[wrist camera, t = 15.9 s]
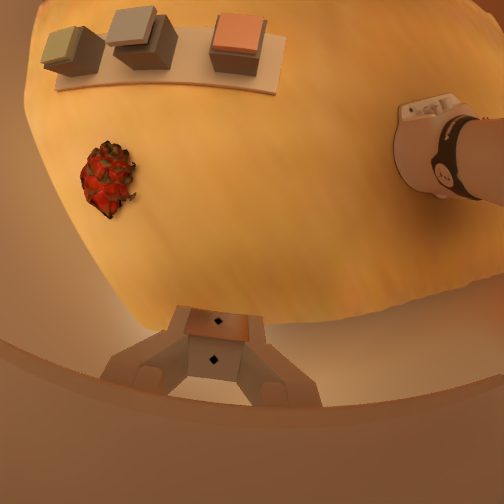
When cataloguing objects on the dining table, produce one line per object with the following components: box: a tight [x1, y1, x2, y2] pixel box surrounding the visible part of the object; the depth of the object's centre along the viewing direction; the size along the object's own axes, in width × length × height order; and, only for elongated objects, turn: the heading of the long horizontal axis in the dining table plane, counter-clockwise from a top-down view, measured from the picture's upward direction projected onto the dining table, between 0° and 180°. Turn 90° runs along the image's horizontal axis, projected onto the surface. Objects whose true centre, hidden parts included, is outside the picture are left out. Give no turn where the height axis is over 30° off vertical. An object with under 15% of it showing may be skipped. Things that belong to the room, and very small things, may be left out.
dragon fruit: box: [80, 141, 136, 219], centre depth 35 cm, size 8×8×12 cm
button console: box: [44, 15, 286, 95], centre depth 28 cm, size 38×10×10 cm, turn 81°
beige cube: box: [105, 6, 157, 47], centre depth 22 cm, size 5×5×5 cm
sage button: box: [40, 26, 80, 65], centre depth 23 cm, size 5×5×5 cm
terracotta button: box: [213, 13, 264, 55], centre depth 25 cm, size 5×5×5 cm
